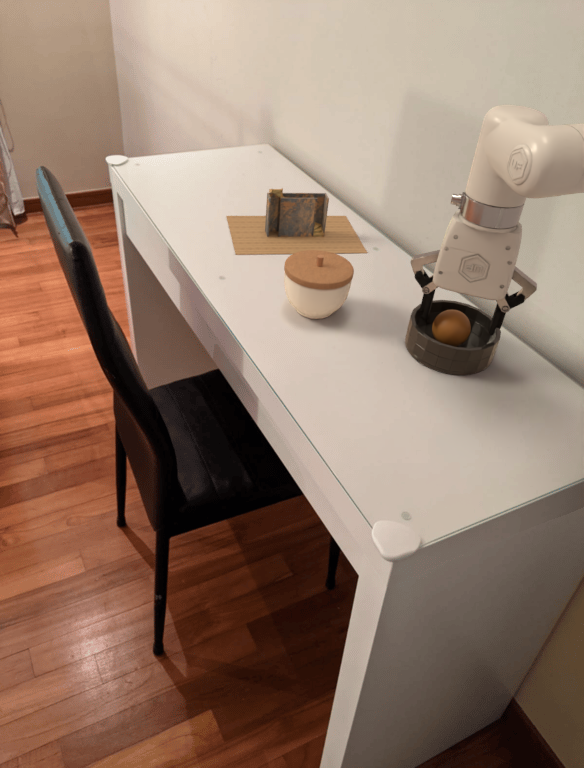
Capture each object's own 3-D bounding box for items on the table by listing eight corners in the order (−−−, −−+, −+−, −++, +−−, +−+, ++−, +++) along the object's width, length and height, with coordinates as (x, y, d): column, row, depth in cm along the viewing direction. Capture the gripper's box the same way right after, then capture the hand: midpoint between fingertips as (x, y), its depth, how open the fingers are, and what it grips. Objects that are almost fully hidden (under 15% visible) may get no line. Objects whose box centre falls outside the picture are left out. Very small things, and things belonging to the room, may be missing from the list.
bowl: (495, 337, 97) (504, 313, 94) (487, 385, 87) (496, 360, 84) (414, 315, 99) (420, 292, 97) (396, 360, 90) (402, 335, 87)
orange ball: (470, 339, 94) (475, 306, 91) (465, 356, 90) (471, 322, 87) (433, 333, 96) (437, 301, 93) (427, 350, 91) (431, 316, 88)
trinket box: (359, 307, 100) (368, 255, 94) (324, 335, 93) (332, 281, 87) (304, 284, 104) (310, 233, 98) (267, 310, 97) (271, 256, 91)
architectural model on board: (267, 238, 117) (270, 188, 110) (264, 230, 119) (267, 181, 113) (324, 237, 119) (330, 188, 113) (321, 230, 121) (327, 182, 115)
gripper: (419, 207, 78) (395, 320, 89) (559, 235, 74) (517, 350, 85) (429, 188, 84) (405, 297, 94) (560, 213, 80) (520, 324, 90)
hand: (458, 322), depth 89 cm, fingers open, 9 cm apart
